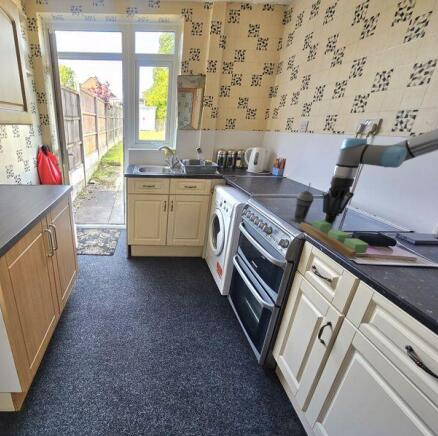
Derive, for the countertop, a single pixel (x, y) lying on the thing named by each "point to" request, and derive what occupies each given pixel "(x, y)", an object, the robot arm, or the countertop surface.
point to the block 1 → (322, 225)
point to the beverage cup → (303, 205)
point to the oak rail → (329, 240)
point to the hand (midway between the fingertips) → (327, 227)
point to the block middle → (338, 235)
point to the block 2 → (357, 245)
